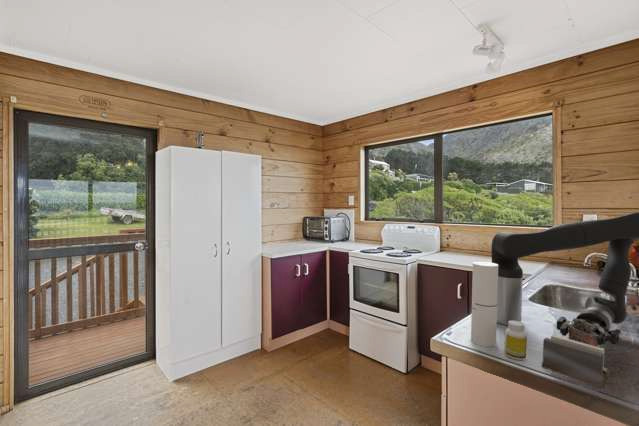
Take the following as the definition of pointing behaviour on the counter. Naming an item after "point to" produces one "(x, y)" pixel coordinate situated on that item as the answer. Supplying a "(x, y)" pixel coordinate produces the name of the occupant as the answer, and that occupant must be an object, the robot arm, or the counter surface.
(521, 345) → the supplement bottle
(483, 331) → the cylindrical container
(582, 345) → the gauge plate
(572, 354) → the gauge base
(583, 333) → the lighter
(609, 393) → the counter surface
